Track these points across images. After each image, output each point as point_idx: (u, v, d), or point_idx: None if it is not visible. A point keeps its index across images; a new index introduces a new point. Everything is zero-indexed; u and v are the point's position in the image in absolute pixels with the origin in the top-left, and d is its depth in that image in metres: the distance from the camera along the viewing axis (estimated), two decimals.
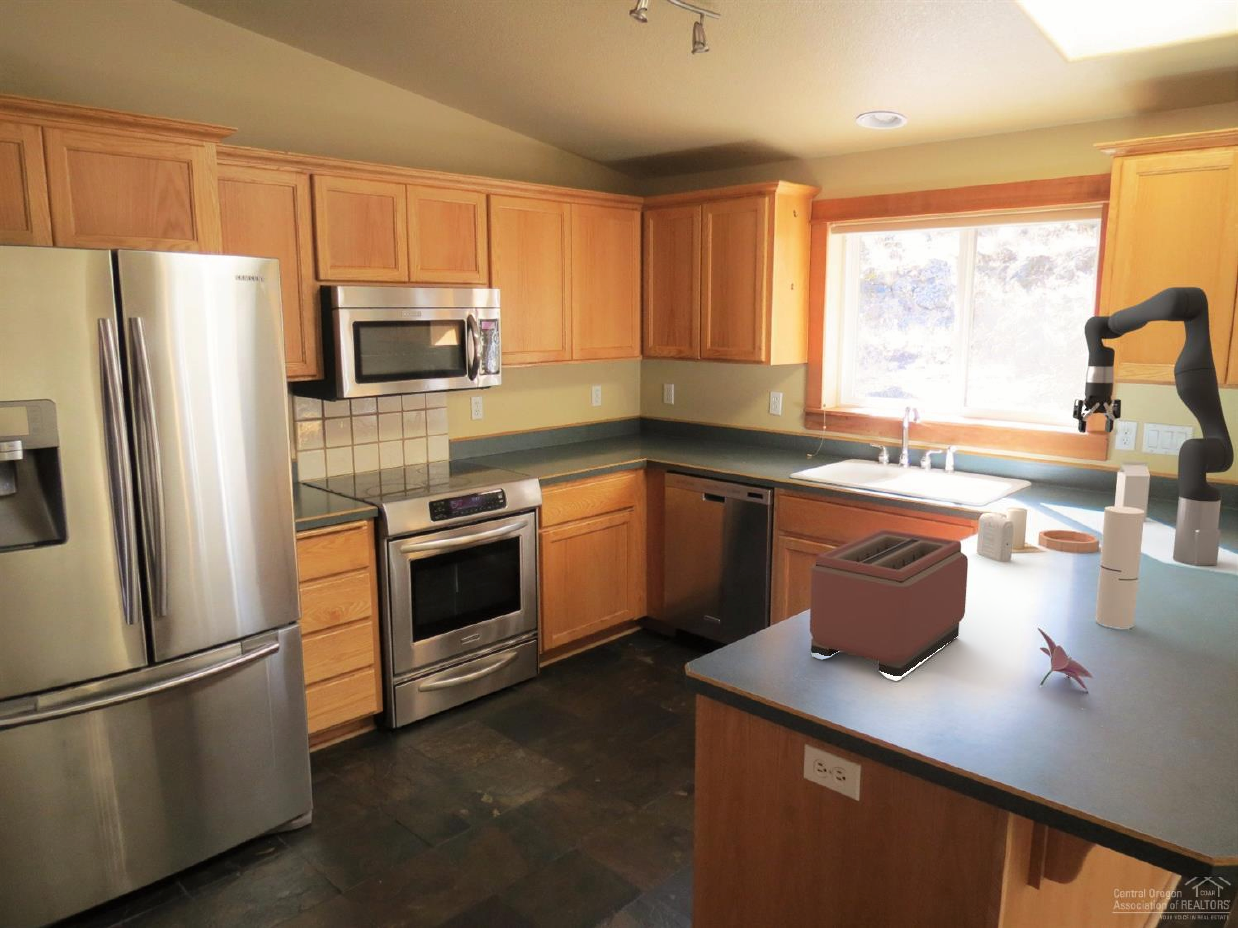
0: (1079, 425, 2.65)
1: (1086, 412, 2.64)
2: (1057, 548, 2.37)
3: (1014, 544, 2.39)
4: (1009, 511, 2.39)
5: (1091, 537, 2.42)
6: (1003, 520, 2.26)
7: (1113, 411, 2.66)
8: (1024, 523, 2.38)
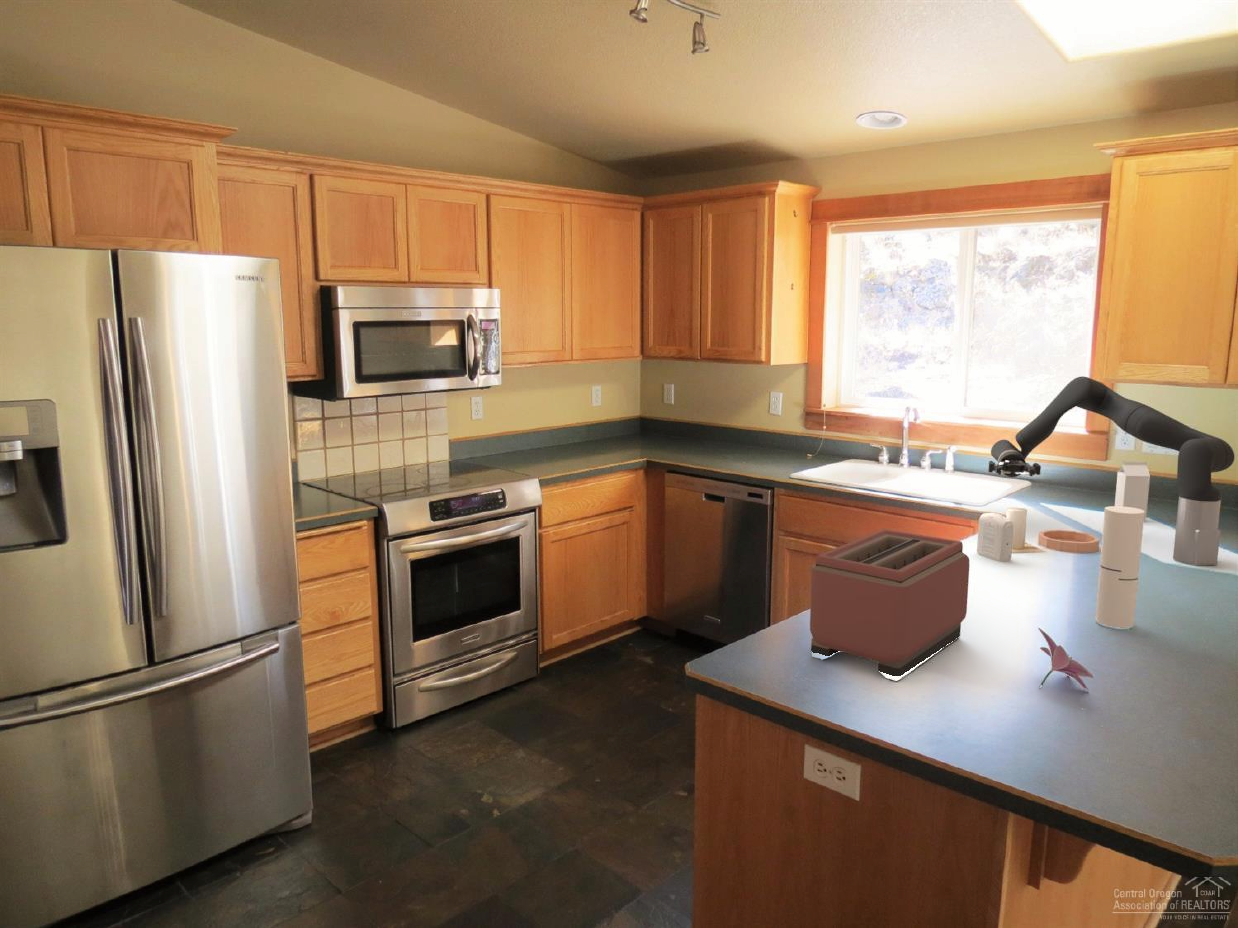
0: (995, 470, 2.52)
1: None
2: (1057, 548, 2.37)
3: (1014, 544, 2.39)
4: (1009, 511, 2.39)
5: (1091, 537, 2.42)
6: (1003, 520, 2.26)
7: None
8: (1024, 523, 2.38)
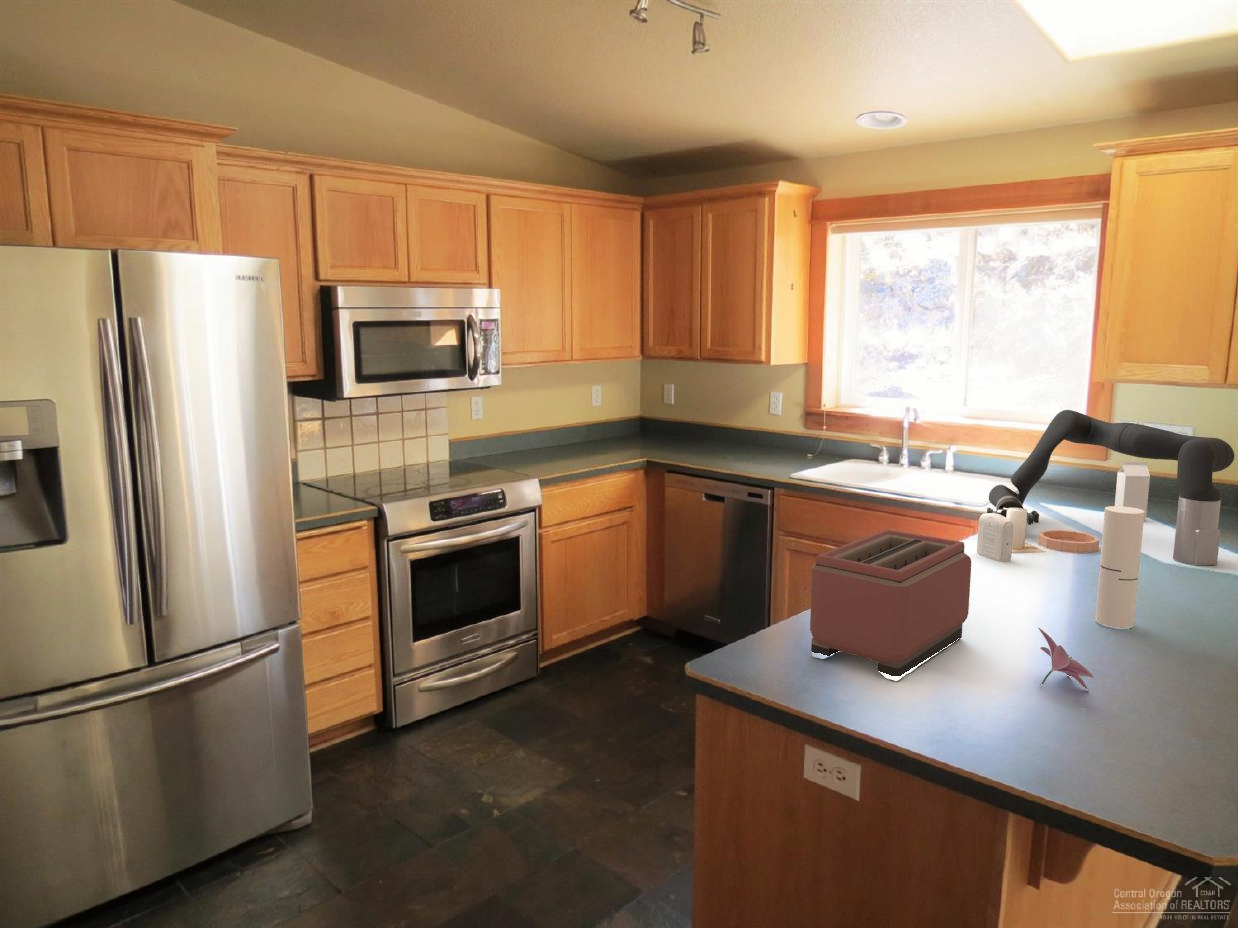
0: None
1: None
2: (1057, 548, 2.37)
3: (1014, 544, 2.39)
4: (1009, 511, 2.39)
5: (1091, 537, 2.42)
6: (1003, 520, 2.26)
7: None
8: (1024, 523, 2.38)
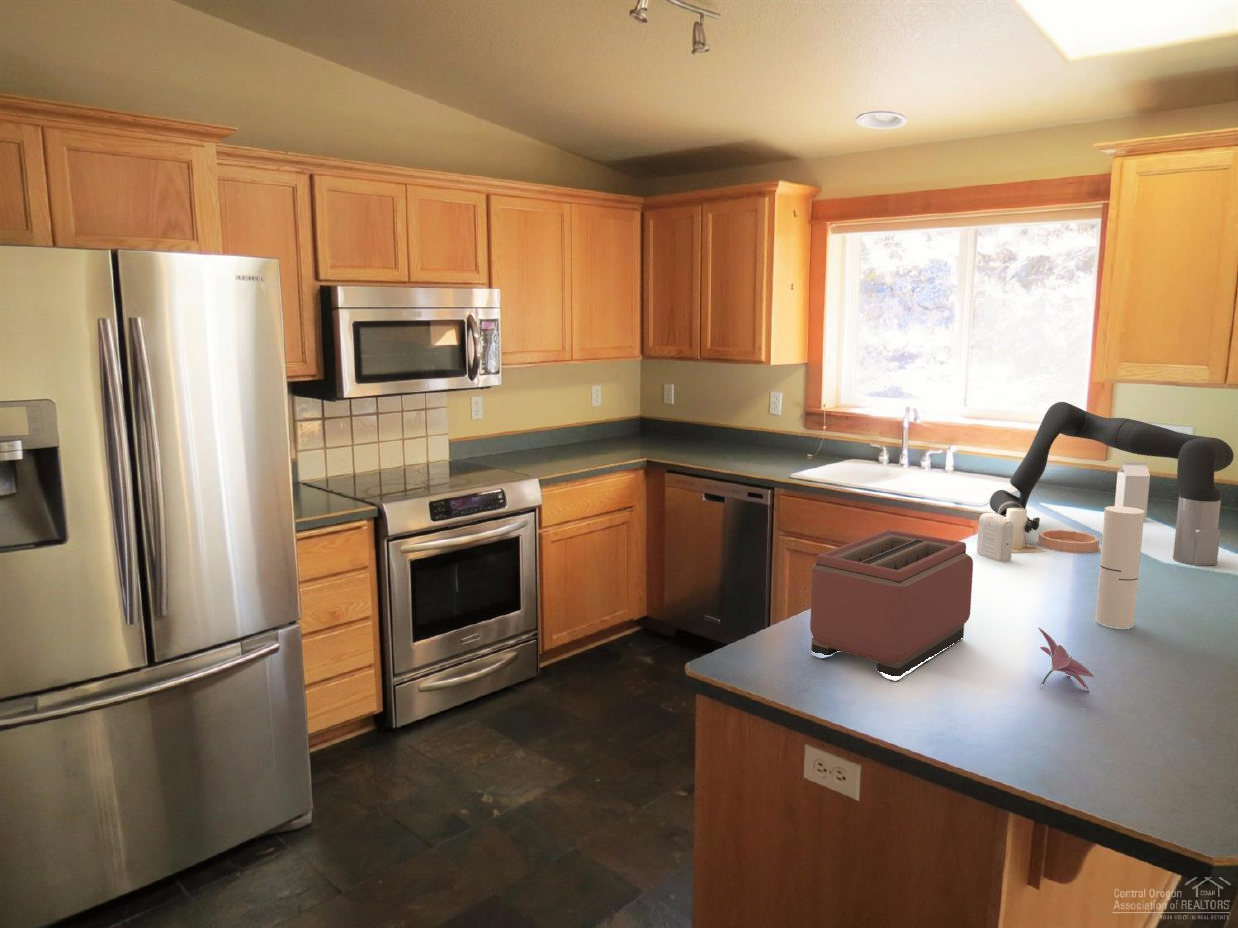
0: None
1: None
2: (1057, 548, 2.37)
3: (1014, 544, 2.39)
4: (1009, 511, 2.39)
5: (1091, 537, 2.42)
6: (1003, 520, 2.26)
7: None
8: (1024, 523, 2.38)
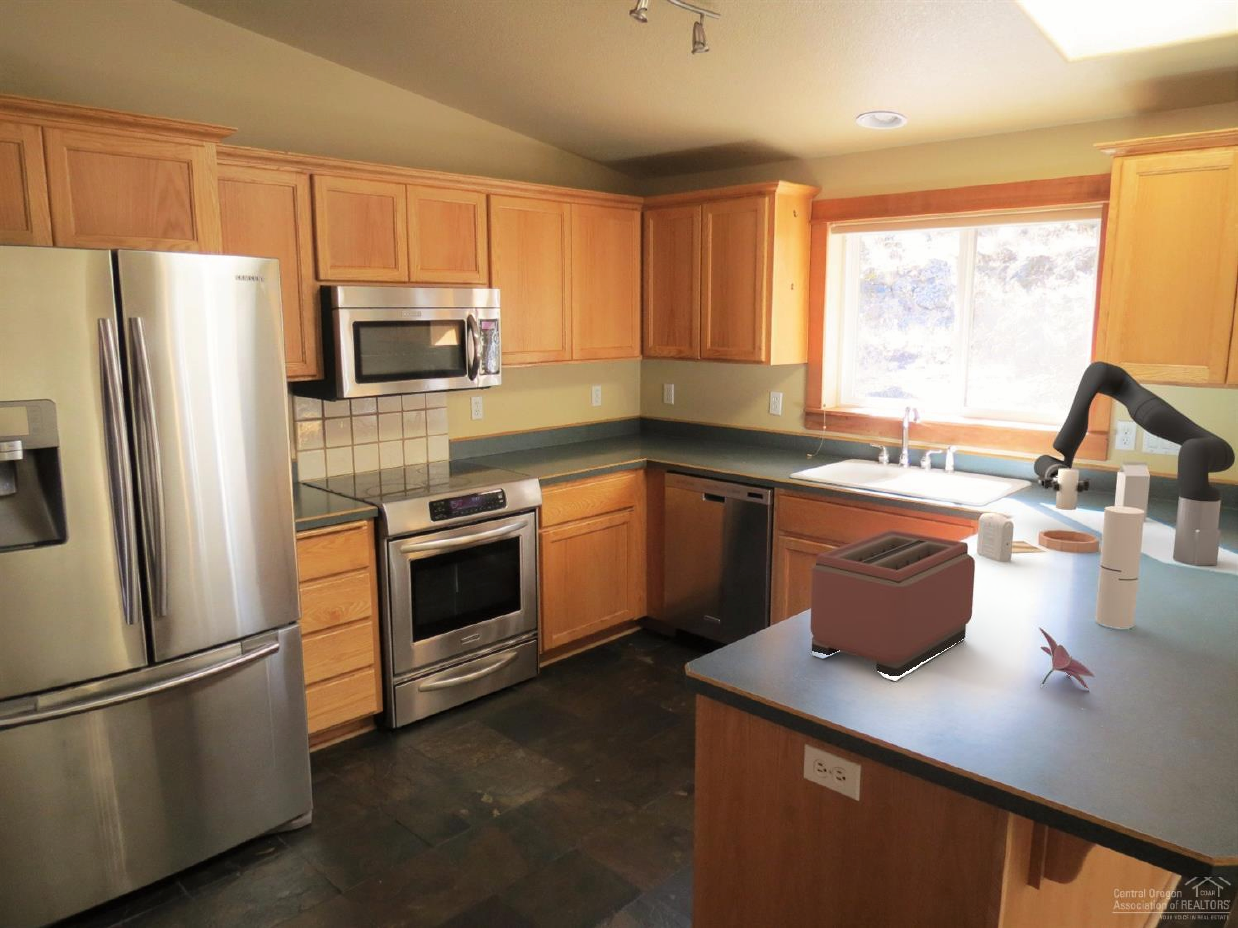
0: (1052, 486, 2.40)
1: None
2: (1057, 548, 2.37)
3: (1066, 504, 2.38)
4: (1061, 471, 2.38)
5: (1091, 537, 2.42)
6: (1003, 520, 2.26)
7: None
8: (1076, 483, 2.37)
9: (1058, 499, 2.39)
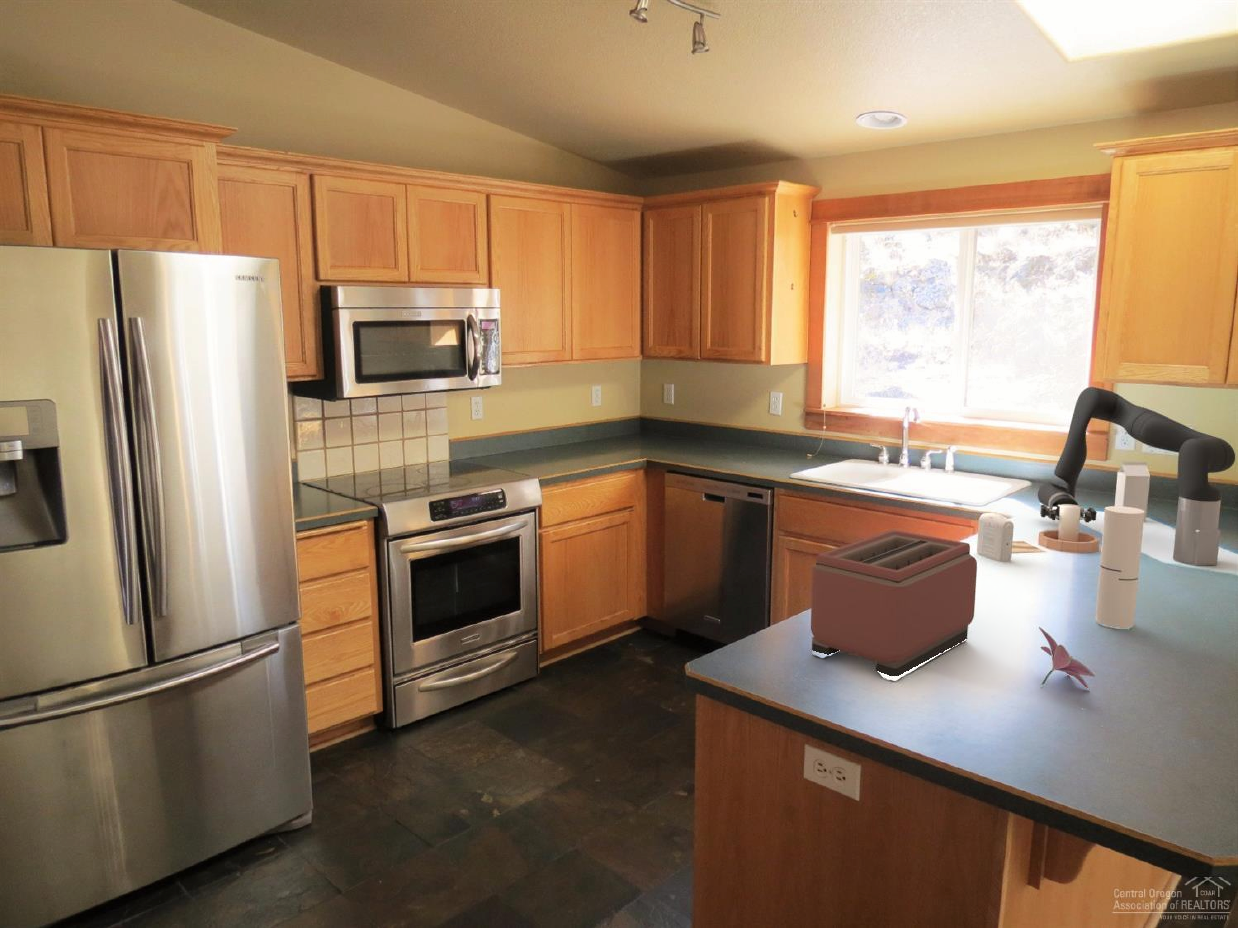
0: (1049, 515, 2.43)
1: None
2: (1057, 548, 2.37)
3: (1068, 540, 2.40)
4: (1062, 508, 2.40)
5: (1091, 537, 2.42)
6: (1003, 520, 2.26)
7: None
8: (1078, 519, 2.39)
9: (1060, 535, 2.42)
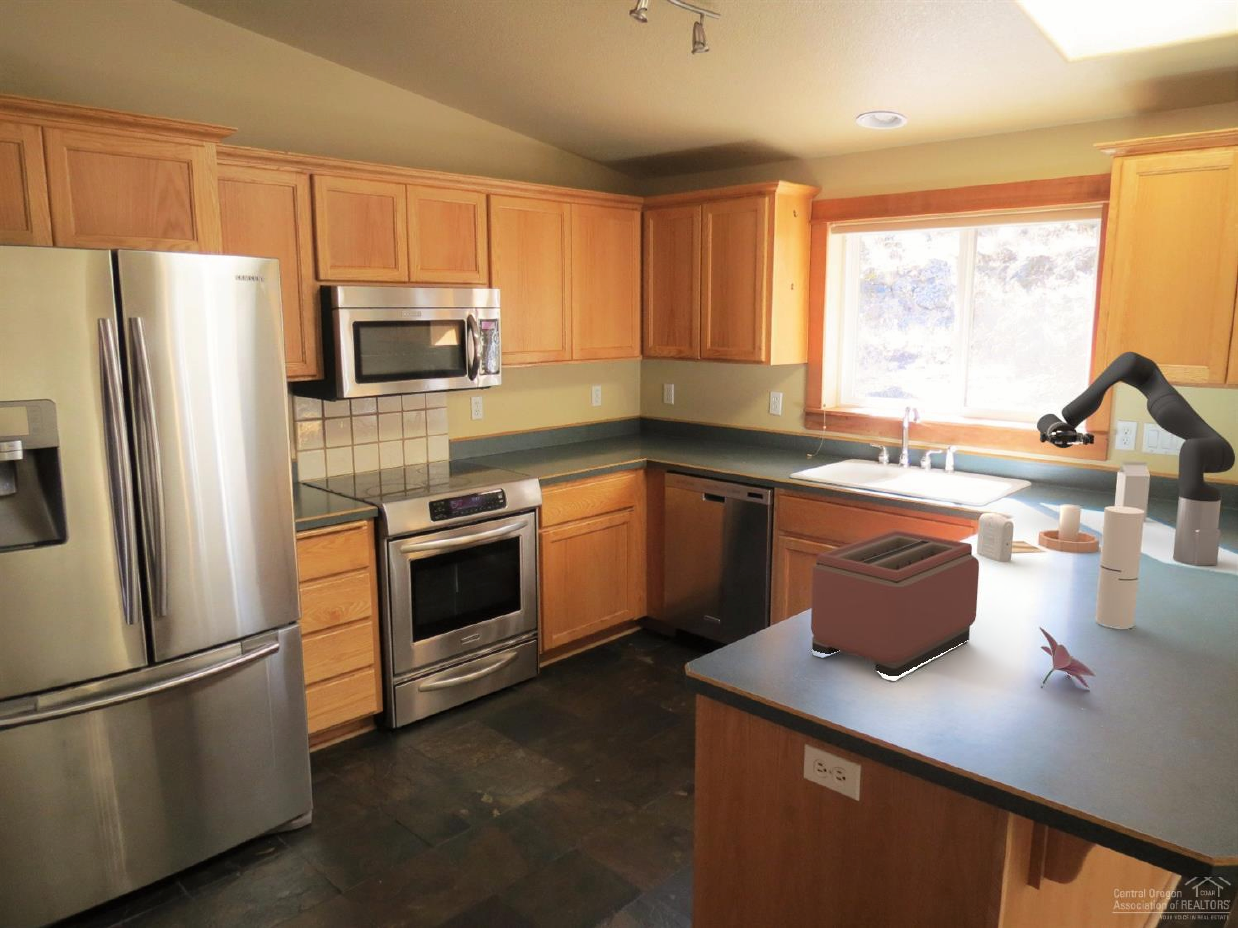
0: (1048, 439, 2.52)
1: None
2: (1057, 548, 2.37)
3: (1068, 540, 2.40)
4: (1063, 508, 2.40)
5: (1091, 537, 2.42)
6: (1003, 520, 2.26)
7: None
8: (1078, 520, 2.39)
9: (1060, 535, 2.42)
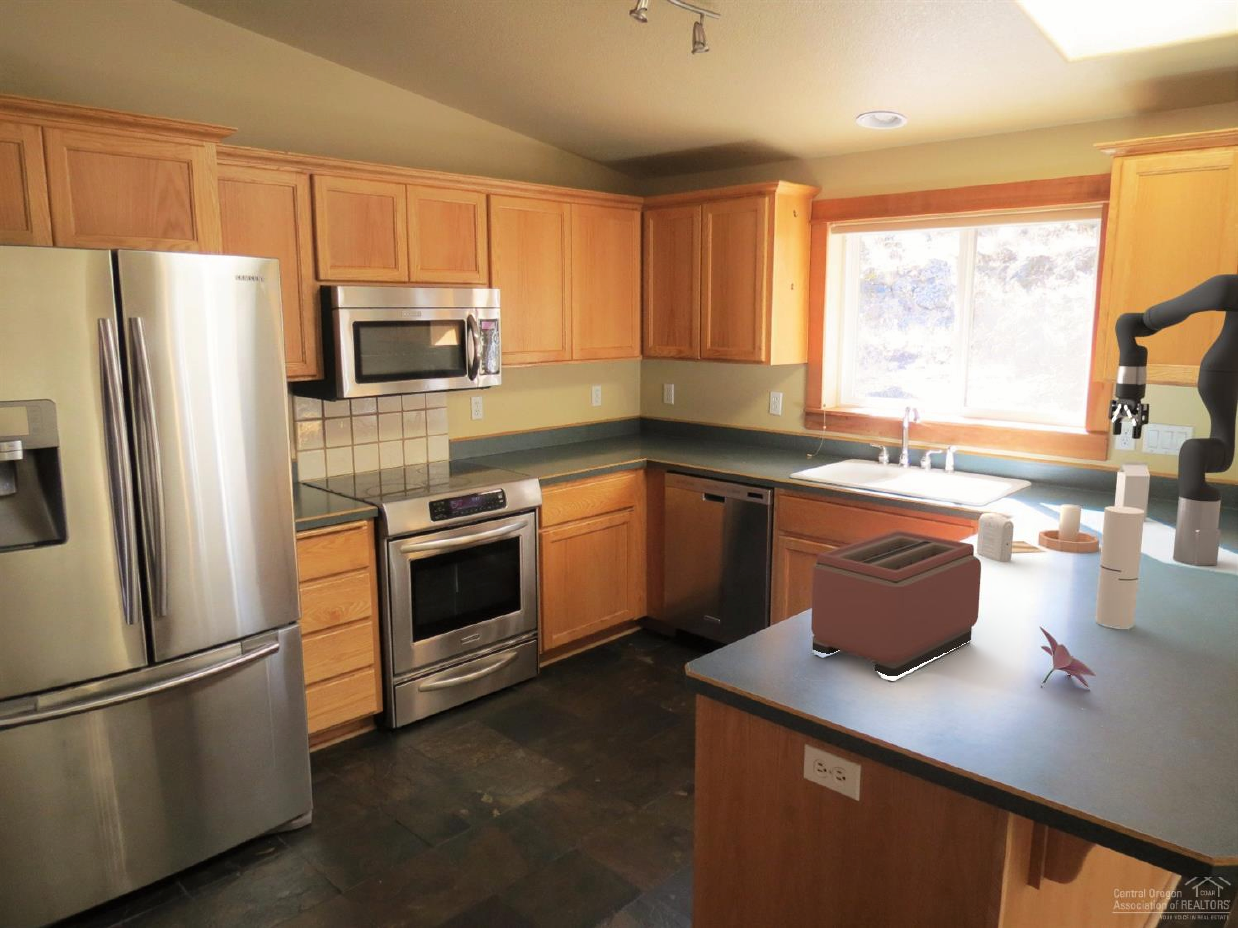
0: None
1: None
2: (1057, 548, 2.37)
3: (1068, 540, 2.40)
4: (1063, 508, 2.40)
5: (1091, 537, 2.42)
6: (1003, 520, 2.26)
7: (1144, 417, 2.42)
8: (1078, 520, 2.39)
9: (1060, 535, 2.42)
